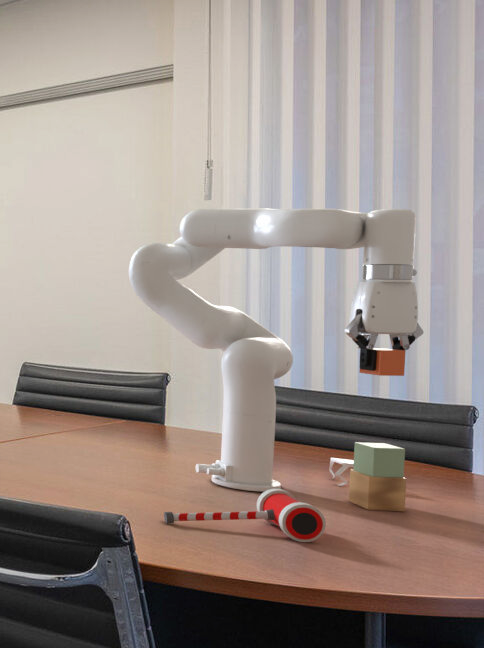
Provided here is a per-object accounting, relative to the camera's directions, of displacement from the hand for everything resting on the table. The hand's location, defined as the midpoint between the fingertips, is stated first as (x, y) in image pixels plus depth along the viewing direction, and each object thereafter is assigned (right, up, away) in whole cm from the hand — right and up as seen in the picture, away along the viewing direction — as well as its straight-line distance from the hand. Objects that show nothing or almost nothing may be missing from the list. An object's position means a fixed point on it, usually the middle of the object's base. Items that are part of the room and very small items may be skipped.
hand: (381, 368), depth 162 cm
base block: (+1, -27, +3) cm, 27 cm away
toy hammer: (-34, -28, -14) cm, 46 cm away
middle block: (+2, -21, +3) cm, 21 cm away
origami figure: (+10, -26, +20) cm, 35 cm away
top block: (0, -1, 0) cm, 1 cm away
